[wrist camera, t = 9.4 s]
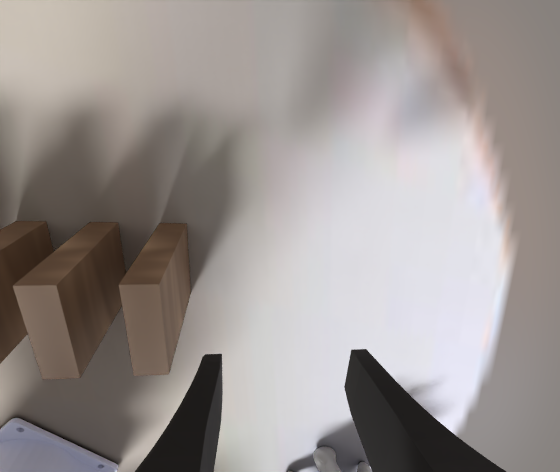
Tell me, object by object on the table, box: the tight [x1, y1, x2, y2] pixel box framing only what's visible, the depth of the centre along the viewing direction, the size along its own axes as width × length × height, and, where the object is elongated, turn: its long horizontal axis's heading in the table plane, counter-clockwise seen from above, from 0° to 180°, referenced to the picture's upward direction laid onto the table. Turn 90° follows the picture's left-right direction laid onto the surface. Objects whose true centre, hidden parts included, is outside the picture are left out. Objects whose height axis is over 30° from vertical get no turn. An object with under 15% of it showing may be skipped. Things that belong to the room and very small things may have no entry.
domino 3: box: [119, 223, 191, 376], centre depth 17 cm, size 2×5×7 cm, turn 176°
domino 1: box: [0, 221, 54, 363], centre depth 16 cm, size 2×5×7 cm, turn 177°
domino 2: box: [13, 222, 126, 380], centre depth 17 cm, size 2×5×7 cm, turn 176°
